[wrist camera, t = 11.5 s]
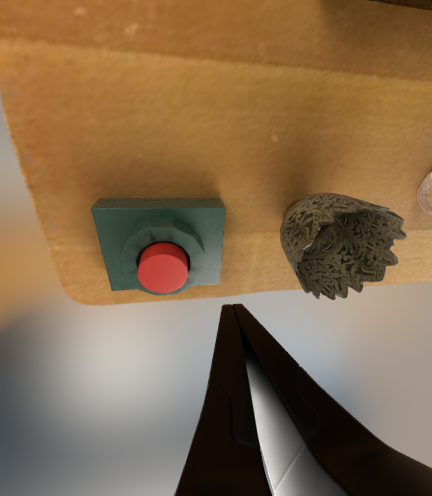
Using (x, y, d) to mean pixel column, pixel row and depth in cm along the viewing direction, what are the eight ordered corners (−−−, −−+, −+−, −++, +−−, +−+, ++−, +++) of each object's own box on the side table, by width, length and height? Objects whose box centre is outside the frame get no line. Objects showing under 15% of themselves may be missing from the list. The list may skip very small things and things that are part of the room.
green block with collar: (221, 198, 20) (230, 216, 16) (216, 271, 24) (222, 297, 20) (99, 198, 18) (81, 218, 15) (116, 276, 22) (106, 305, 19)
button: (186, 241, 17) (187, 253, 16) (187, 277, 19) (188, 291, 18) (137, 242, 17) (134, 255, 15) (143, 280, 19) (140, 294, 17)
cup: (261, 180, 19) (307, 218, 13) (341, 168, 20) (426, 198, 13) (260, 252, 23) (295, 309, 17) (327, 240, 24) (387, 291, 17)
